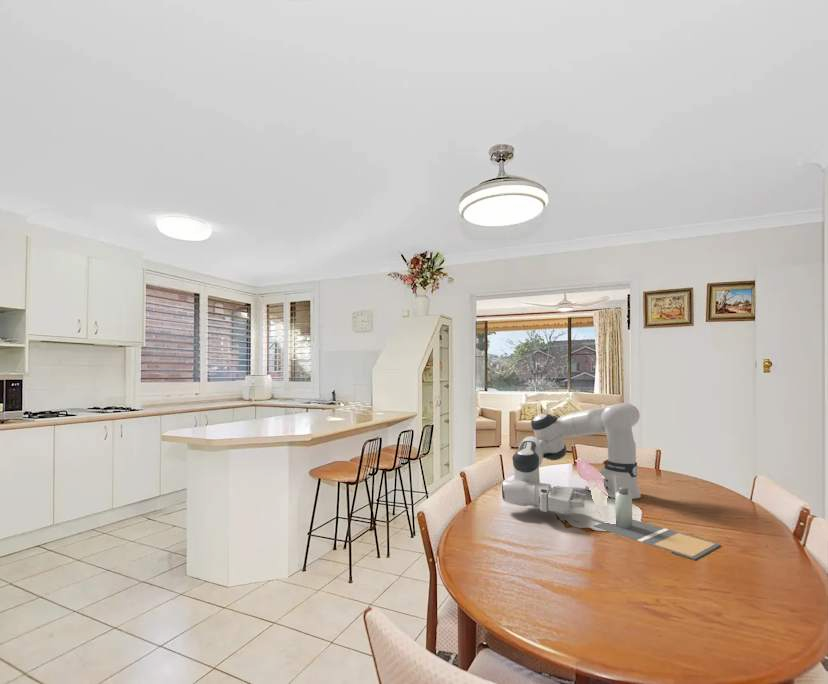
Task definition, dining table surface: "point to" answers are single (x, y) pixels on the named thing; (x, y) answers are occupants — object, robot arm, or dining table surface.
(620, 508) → the bottle
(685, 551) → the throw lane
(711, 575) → the dining table surface
